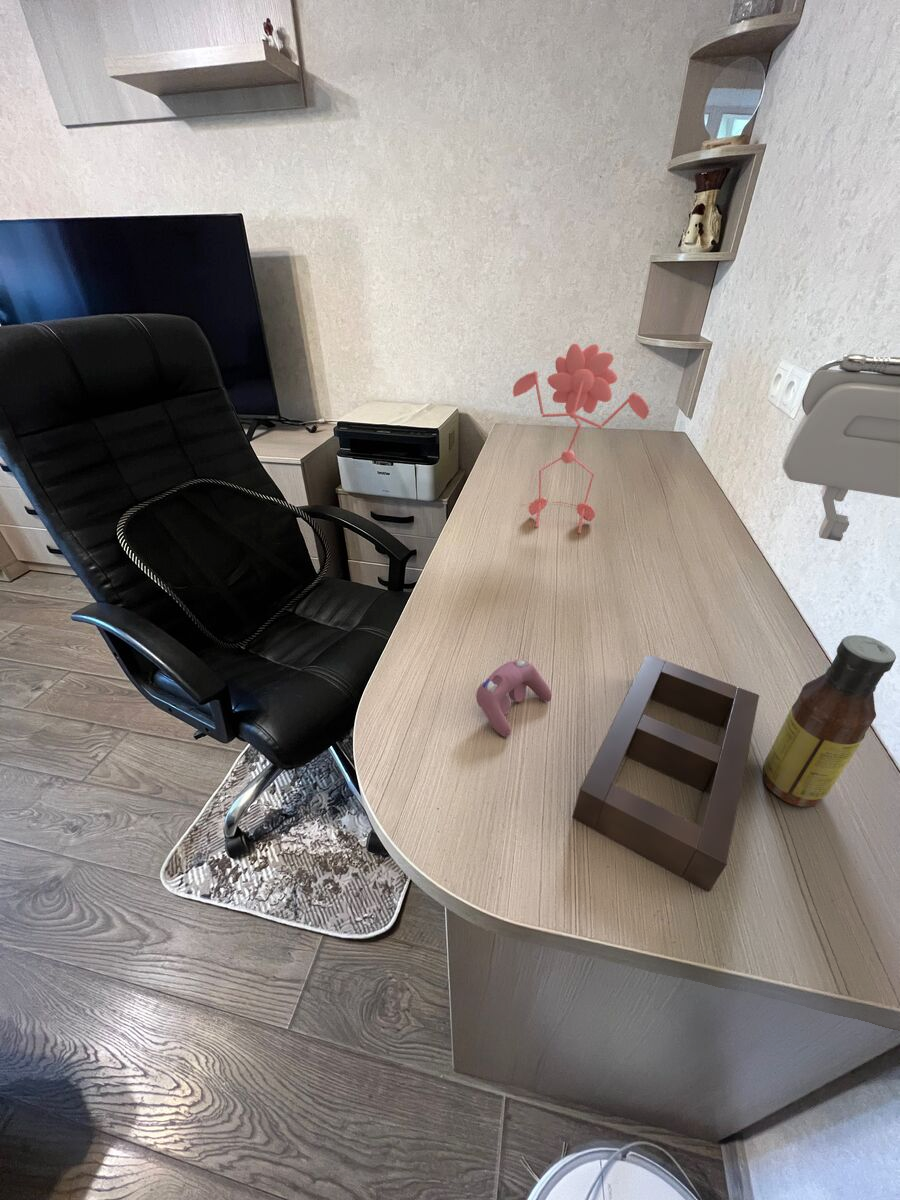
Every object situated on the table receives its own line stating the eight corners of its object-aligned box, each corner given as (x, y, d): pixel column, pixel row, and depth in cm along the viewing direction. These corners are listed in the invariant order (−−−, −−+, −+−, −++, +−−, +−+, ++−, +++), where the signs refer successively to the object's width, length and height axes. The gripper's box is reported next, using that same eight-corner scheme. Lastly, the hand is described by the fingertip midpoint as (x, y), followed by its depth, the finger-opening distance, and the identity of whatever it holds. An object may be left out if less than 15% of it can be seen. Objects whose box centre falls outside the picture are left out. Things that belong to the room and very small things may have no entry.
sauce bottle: (827, 784, 56) (926, 649, 45) (814, 822, 52) (918, 685, 41) (764, 751, 60) (841, 618, 48) (747, 784, 56) (826, 649, 45)
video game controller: (530, 694, 69) (516, 648, 67) (556, 699, 65) (542, 651, 64) (481, 733, 63) (465, 685, 62) (507, 741, 60) (491, 690, 58)
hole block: (745, 722, 63) (759, 694, 61) (709, 892, 46) (727, 864, 44) (638, 680, 69) (646, 653, 66) (571, 817, 52) (579, 789, 50)
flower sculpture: (620, 541, 103) (664, 354, 83) (497, 524, 109) (511, 345, 88) (621, 511, 115) (659, 341, 95) (510, 497, 121) (524, 334, 101)
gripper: (823, 357, 35) (752, 536, 42) (1274, 392, 26) (1084, 605, 34) (818, 346, 39) (755, 509, 47) (1203, 373, 31) (1049, 565, 39)
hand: (896, 550), depth 41 cm, fingers open, 8 cm apart
